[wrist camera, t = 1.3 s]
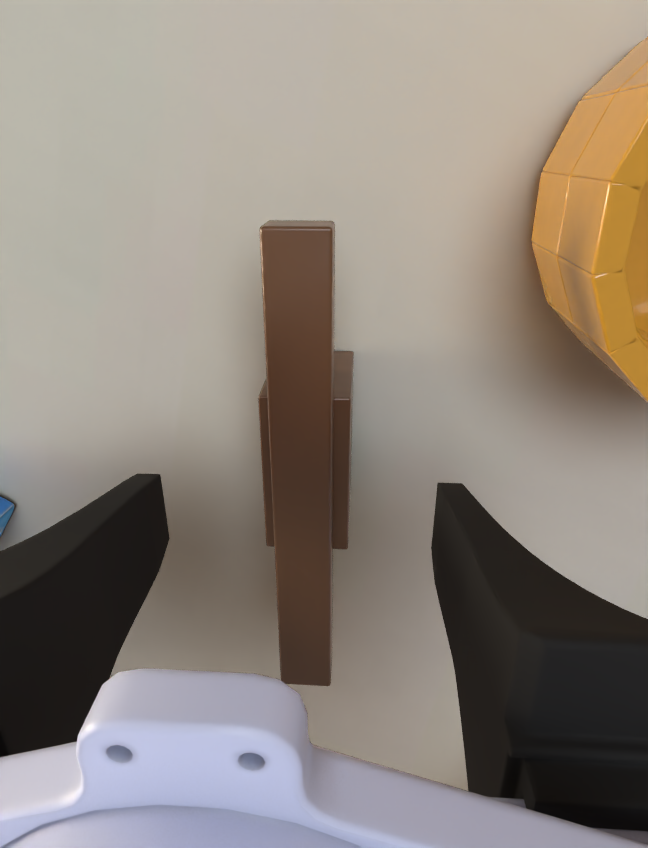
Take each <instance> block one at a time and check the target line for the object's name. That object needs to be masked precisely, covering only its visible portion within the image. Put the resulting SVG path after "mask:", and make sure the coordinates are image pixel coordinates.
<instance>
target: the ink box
mask: <svg viewBox="0 0 648 848" xmlns="http://www.w3.org/2000/svg"><path fill="white" fill-rule="evenodd" d="M13 510H14V504H13V503H11V502H10V501H8V500H6V499H4V498H2V497H1V496H0V536H1V534H2V532H3V530H4V528H5V526H6V524H7V522H8V521H9V519H10V517H11V515H12V512H13Z"/></svg>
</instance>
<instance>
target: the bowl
mask: <svg viewBox="0 0 648 848" xmlns="http://www.w3.org/2000/svg"><path fill="white" fill-rule="evenodd" d="M531 241H532V247H533V251H534V255H535V259H536V262H537V266H538V270H539V274H540V278H541V282H542V286H543V289H544V293H545V297H546V300H547V301H548V304H549V305H550V306H551V308H552V309H553V310H554V311H555V312H556V313H557V315H558V316H559V317H560V318H561V319H562V320H563V322H564V323H565V324H566V325H567V326H568V327H569V329H570V330H571V331H572V332H573V333H574V335H575V336H576V337H577V338H578V339H579V340H580V342H581V343H582V344H583V345H584V346H586V347H587V348H588V349H589V350H590V351H591V352H592V353H593V354H594V355H595V356H597V357H598V358H599V359H600V360H601V361H602V362H603V363H604V364H605V365H606V366H608V367H609V368H610V369H611V370H612V371H613V372H614V373H615V374H616V375H617V376H618V377H619V378H621V379H622V380H623V381H624V382H625V383H626V384H627V385H628V386H629V387H631V388H632V389H633V390H634V391H635V392H636V393H637V394H638V395H639V396H640V397H642V398H643V399H644V400H645V401H646V402H647V403H648V37H647V38H646V39H645V40H643V41H641V42H640V43H639V44H638V45H637V46H636V47H635V48H634V49H633V50H631V51H630V52H629V53H628V54H627V55H626V56H625V57H624V58H623V59H622V60H621V61H620V62H619V63H618V64H617V65H616V66H615V67H614V68H613V69H611V70H610V71H609V72H608V73H607V74H606V75H605V76H604V77H603V78H602V79H601V80H600V81H599V82H598V83H597V84H596V85H595V86H594V87H592V88H591V89H590V90H589V91H588V92H587V93H586V94H585V95H584V96H583V97H582V100H580V101H579V102H578V104H577V106H576V108H575V110H574V111H573V113H572V115H571V117H570V119H569V121H568V123H567V125H566V126H565V128H564V130H563V132H562V134H561V136H560V138H559V140H558V141H557V143H556V145H555V147H554V149H553V151H552V153H551V155H550V156H549V158H548V160H547V162H546V164H545V166H544V168H543V172H542V173H541V177H540V184H539V191H538V198H537V205H536V211H535V218H534V225H533V232H532V239H531Z"/></svg>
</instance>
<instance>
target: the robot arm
mask: <svg viewBox="0 0 648 848" xmlns="http://www.w3.org/2000/svg"><path fill="white" fill-rule="evenodd" d="M168 541H169V532H168V525H167V518H166V511H165V504H164V497H163V490H162V483H161V477H160V474H136V475H134V476H132V477H130V478H129V479H127V480H125V481H124V482H122V483H121V484H119V485H118V486H116V487H114V488H113V489H111V490H110V491H108V492H107V493H105V494H104V495H102V496H101V497H99V498H98V499H96V500H94V501H93V502H91V503H90V504H88V505H87V506H85V507H84V508H82V509H80V510H79V511H77V512H75V513H74V514H72V515H70V516H68V517H67V518H65V519H63V520H62V521H60V522H58V523H56V524H55V525H53V526H51V527H50V528H48V529H46V530H44V531H42V532H40V533H38V534H36V535H34V536H33V537H31V538H28V539H26V540H24V541H22V542H20V543H18V544H16V545H14V546H11V547H9V548H7V549H5V550H2V551H0V848H648V619H646V618H643V617H641V616H639V615H636V614H634V613H631V612H629V611H627V610H624V609H622V608H620V607H618V606H616V605H614V604H612V603H610V602H608V601H606V600H604V599H602V598H600V597H598V596H596V595H594V594H593V593H591V592H589V591H587V590H585V589H584V588H582V587H580V586H579V585H577V584H575V583H574V582H572V581H570V580H569V579H567V578H565V577H564V576H562V575H561V574H559V573H558V572H556V571H555V570H553V569H552V568H550V567H549V566H548V565H546V564H545V563H544V562H542V561H541V560H540V559H538V558H537V557H536V556H534V555H533V554H532V553H531V552H529V551H528V550H527V549H526V548H524V547H523V546H522V545H521V544H520V543H519V542H518V541H516V540H515V539H514V538H513V537H512V536H511V535H510V534H509V533H508V532H507V531H506V530H504V529H503V528H502V527H501V526H500V525H499V524H498V523H497V522H496V520H495V519H494V518H493V517H492V516H491V515H490V514H489V513H488V512H487V511H486V510H485V509H484V508H483V507H482V505H481V504H480V503H479V502H478V501H477V500H476V499H475V497H474V496H473V495H472V494H471V493H470V492H469V491H468V490H467V488H466V487H465V486H464V485H463V484H461V483H438V485H437V496H436V506H435V516H434V527H433V537H432V547H431V549H432V560H433V570H434V579H435V585H436V590H437V594H438V598H439V603H440V607H441V611H442V615H443V620H444V624H445V628H446V632H447V636H448V641H449V645H450V649H451V653H452V658H453V663H454V669H455V674H456V682H457V690H458V698H459V706H460V715H461V723H462V732H463V741H464V750H465V760H466V770H467V780H468V790H469V791H466V790H463V789H459V788H456V787H453V786H449V785H446V784H442V783H439V782H436V781H432V780H429V779H426V778H422V777H419V776H416V775H412V774H409V773H406V772H402V771H399V770H395V769H392V768H389V767H385V766H382V765H379V764H375V763H372V762H369V761H365V760H362V759H358V758H355V757H352V756H348V755H345V754H342V753H338V752H335V751H332V750H328V749H325V748H322V747H318V746H315V745H313V744H311V742H310V740H309V735H308V713H307V710H306V708H305V705H304V703H303V700H302V698H301V695H300V694H299V693H297V692H296V691H295V690H293V689H292V688H290V687H289V686H288V685H286V684H285V683H284V682H282V681H281V680H280V679H277V678H272V677H268V676H264V675H260V674H256V673H236V672H215V671H195V670H175V669H155V668H141V669H135V670H128V671H122V672H117V673H116V674H115V675H114V676H112V677H111V678H110V675H111V672H112V669H113V667H114V664H115V661H116V659H117V656H118V654H119V652H120V649H121V647H122V645H123V643H124V640H125V638H126V636H127V634H128V632H129V630H130V628H131V626H132V624H133V622H134V620H135V618H136V616H137V614H138V612H139V610H140V608H141V606H142V604H143V602H144V600H145V599H146V597H147V594H148V592H149V590H150V588H151V586H152V584H153V582H154V580H155V578H156V576H157V574H158V572H159V569H160V566H161V563H162V560H163V558H164V554H165V551H166V548H167V545H168ZM109 678H110V679H109Z"/></svg>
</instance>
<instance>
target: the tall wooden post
mask: <svg viewBox="0 0 648 848" xmlns="http://www.w3.org/2000/svg"><path fill="white" fill-rule="evenodd" d="M260 250H261V271H262V292H263V313H264V334H265V355H266V376H267V378H266V381H265V383H264V385H263V388H262V390H261V392H260V395H259V397H258V400H259V418H260V437H261V455H262V473H263V492H264V510H265V528H266V545H267V546H273V547H275V567H276V588H277V609H278V630H279V651H280V672H281V681H282V682H284V683H285V684H298V685H317V686H329V685H330V684H331V670H332V623H333V549H347V548H348V535H349V512H350V488H351V448H352V401H353V352H352V351H334V292H335V224H334V222H333V221H279V220H270V221H268V222H267V223H265V224H264V225H263V226H261V227H260Z"/></svg>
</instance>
